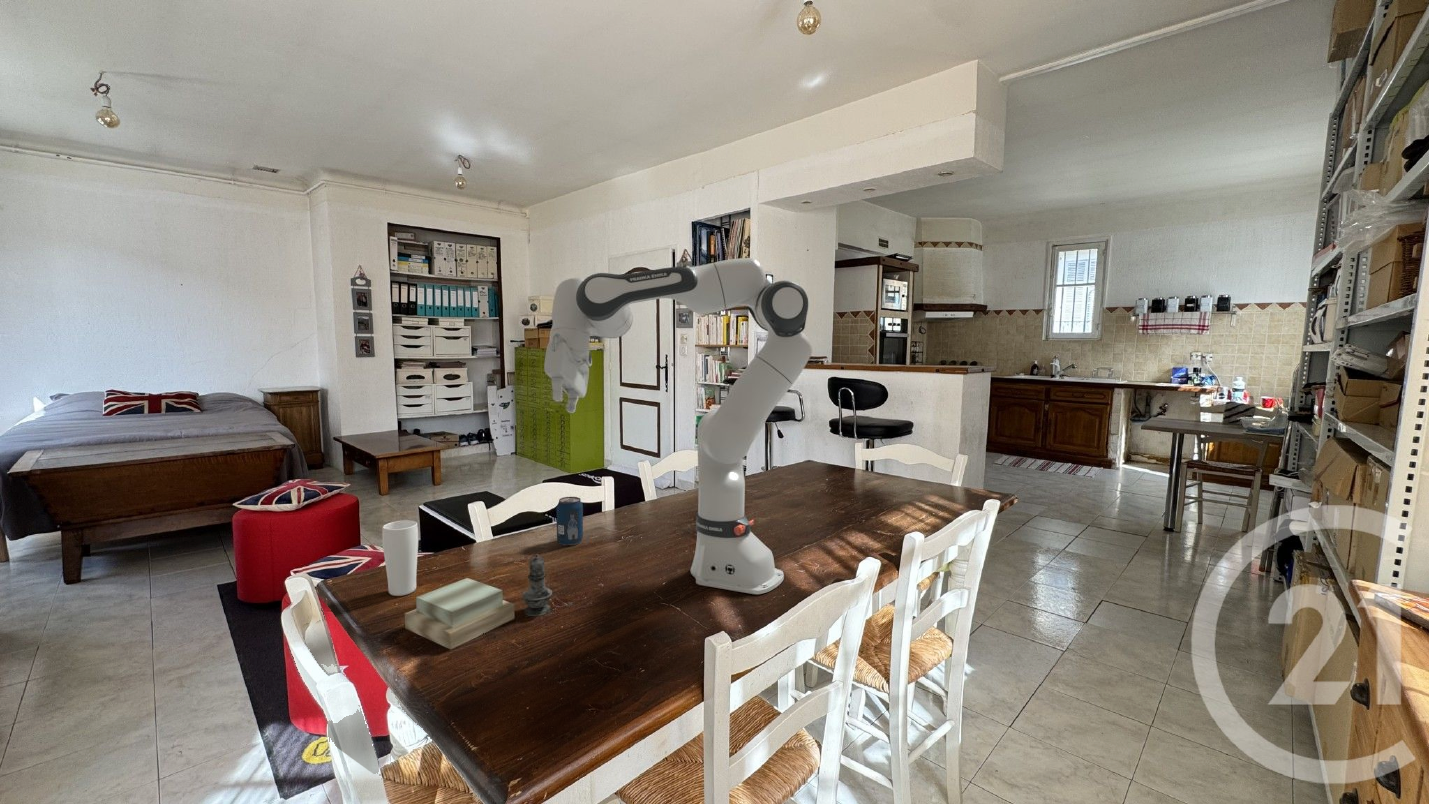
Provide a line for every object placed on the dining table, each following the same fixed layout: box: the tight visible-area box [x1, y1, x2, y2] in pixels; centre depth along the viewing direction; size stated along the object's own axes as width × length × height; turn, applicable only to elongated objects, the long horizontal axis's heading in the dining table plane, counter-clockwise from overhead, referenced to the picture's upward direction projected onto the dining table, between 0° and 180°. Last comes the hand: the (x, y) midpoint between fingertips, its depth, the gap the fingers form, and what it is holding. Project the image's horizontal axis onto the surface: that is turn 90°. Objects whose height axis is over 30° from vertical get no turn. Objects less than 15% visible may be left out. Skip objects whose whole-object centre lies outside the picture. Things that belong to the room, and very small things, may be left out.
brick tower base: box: [404, 577, 515, 650], centre depth 113 cm, size 14×14×6 cm
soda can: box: [556, 496, 584, 546], centre depth 159 cm, size 7×7×12 cm
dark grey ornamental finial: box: [521, 553, 553, 617], centre depth 119 cm, size 6×6×12 cm
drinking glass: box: [382, 519, 419, 597], centre depth 126 cm, size 7×7×15 cm
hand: (564, 406), depth 128 cm, fingers open, 8 cm apart
